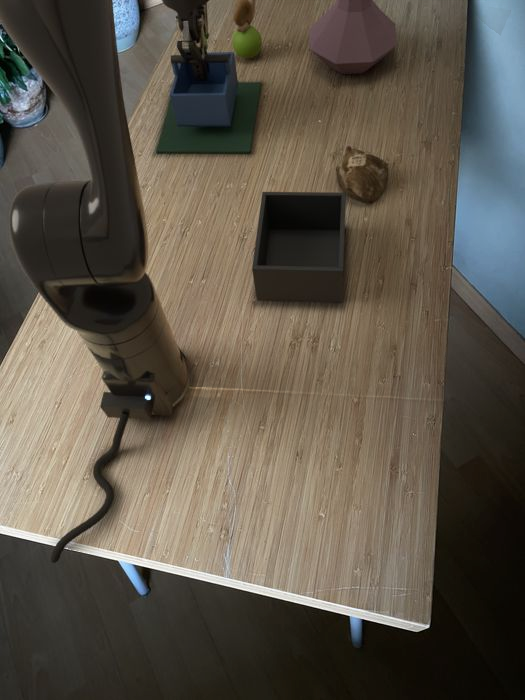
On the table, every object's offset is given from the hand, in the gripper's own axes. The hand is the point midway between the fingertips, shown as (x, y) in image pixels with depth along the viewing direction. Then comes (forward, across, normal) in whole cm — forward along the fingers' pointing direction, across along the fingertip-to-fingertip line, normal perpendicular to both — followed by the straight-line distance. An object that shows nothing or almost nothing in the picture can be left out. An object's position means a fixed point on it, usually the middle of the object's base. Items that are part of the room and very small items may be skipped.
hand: (202, 76), depth 96 cm
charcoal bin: (+8, +32, +18) cm, 38 cm away
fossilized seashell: (+8, +16, +26) cm, 32 cm away
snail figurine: (+8, -18, +5) cm, 20 cm away
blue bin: (+6, 0, 0) cm, 6 cm away
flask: (+8, -16, +24) cm, 30 cm away
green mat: (+8, 0, 0) cm, 8 cm away
